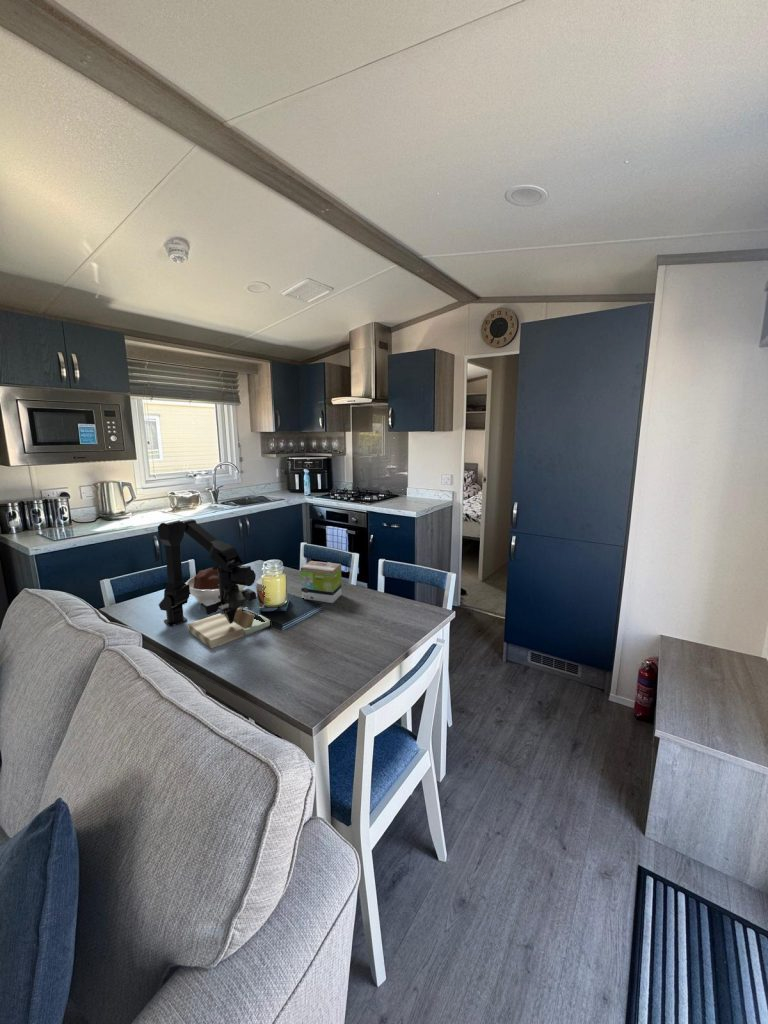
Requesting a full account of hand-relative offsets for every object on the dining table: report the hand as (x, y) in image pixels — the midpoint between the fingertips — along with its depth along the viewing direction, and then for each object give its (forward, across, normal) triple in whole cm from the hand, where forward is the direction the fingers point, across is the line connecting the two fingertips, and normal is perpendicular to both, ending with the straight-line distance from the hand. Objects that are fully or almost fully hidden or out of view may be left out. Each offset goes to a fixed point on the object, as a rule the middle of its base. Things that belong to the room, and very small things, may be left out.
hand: (230, 623), depth 154 cm
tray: (+4, +8, +4) cm, 10 cm away
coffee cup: (+4, +21, +9) cm, 23 cm away
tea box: (+4, +43, +2) cm, 43 cm away
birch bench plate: (+4, -4, +4) cm, 7 cm away
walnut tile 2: (+1, +6, 0) cm, 6 cm away
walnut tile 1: (+1, +6, +8) cm, 11 cm away
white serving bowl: (+4, +11, +32) cm, 34 cm away
